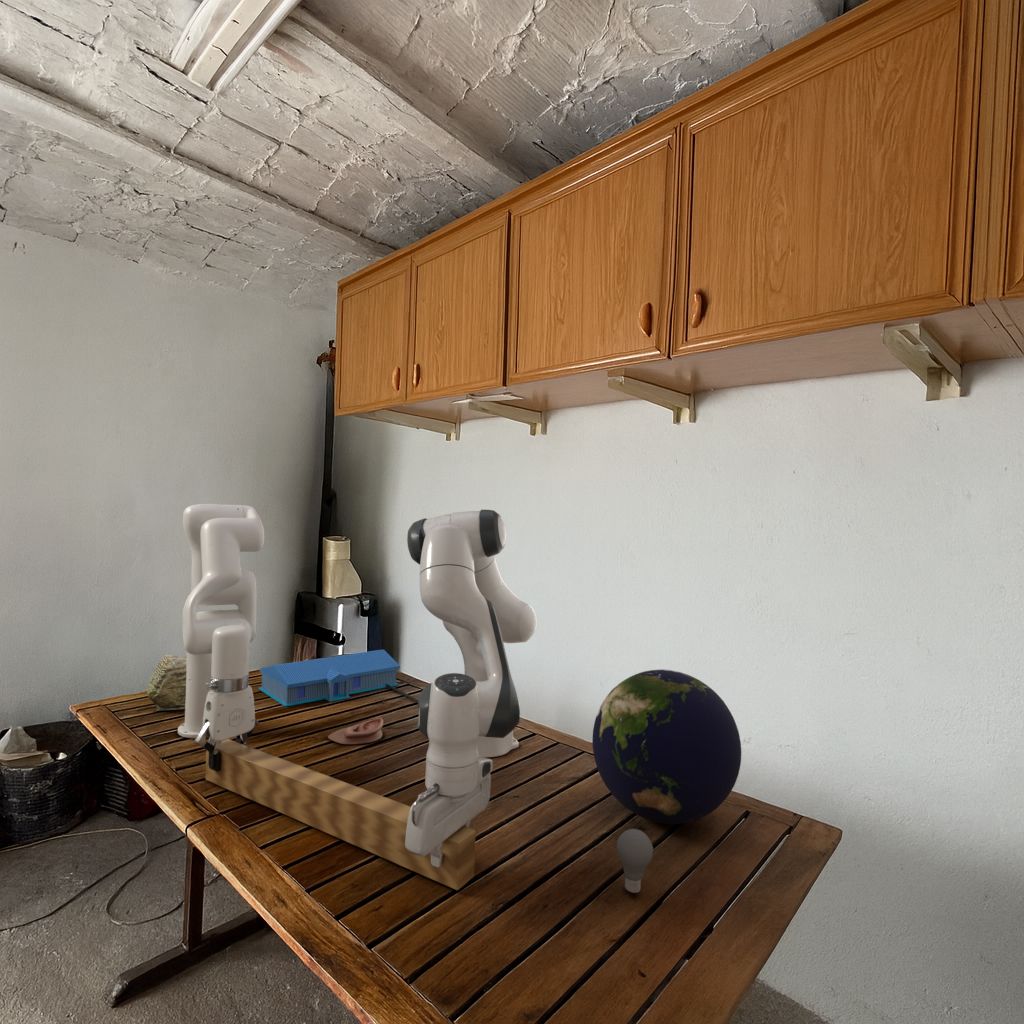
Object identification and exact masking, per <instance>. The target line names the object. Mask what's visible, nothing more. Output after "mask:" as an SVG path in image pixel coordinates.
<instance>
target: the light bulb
mask: <svg viewBox="0 0 1024 1024" xmlns="http://www.w3.org/2000/svg"><path fill="white" fill-rule="evenodd" d="M615 849H616V854H617V857H618V859H619V861H620V863H621V865H622V867H623V873H624V874H623V875H624V876H625V878H624V888H625V890H627V891H628V892H630V893H634V894H635V893H639V892H640V891H641V889H642V887H641V886H642V879H643V877H644V875H645V871H646V868H647V867H648V866H649V864H650V863H651V861H652V859H653V855H654V847H653V843H652V841H651V838H649V836H648V835H647V834H646V833H645V832H643V831H642V830H641V829H636V828H629V829H627V830H625V831H623V832H622V833H621V834H620V835H619V837H618V839H617V841H616V847H615Z"/></svg>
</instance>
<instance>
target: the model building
mask: <svg viewBox="0 0 1024 1024" xmlns="http://www.w3.org/2000/svg"><path fill="white" fill-rule="evenodd" d="M400 669H401V665H400V664H399V663H398V662H397V661H396V660H395V659H394V658H393V657H392V656H391V654H389V653H388V652H387V651H386V650H385V649H376V650H368V651H363V652H356V653H349V654H342V655H341V654H340V655H335V656H329V657H328V656H327V657H321V658H315V659H314V658H313V659H307V660H300V661H293V662H287V663H278V664H272V665H268V666H264V667H263V666H262V667H260V668H259V672H260V673H261V686H260V687H258V690H260V691H261V692H262V693H264V694H265V695H267V696H268V697H270V698H271V699H273V700H274V701H276V702H277V703H279V704H280V705H282V706H283V707H290V706H297V705H302V704H307V703H312V702H317V701H323V700H325V701H327V702H329V703H330V702H335V701H341V700H346V699H347V700H348V699H350V698H351V695H353V694H359V693H364V692H365V693H366V692H369V691H373V690H381V689H385V688H388V687H387V686H386V684H388V685H390V686H392V687H395V686H399V683H398V682H397V670H400Z"/></svg>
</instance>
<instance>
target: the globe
mask: <svg viewBox="0 0 1024 1024" xmlns="http://www.w3.org/2000/svg"><path fill="white" fill-rule="evenodd" d="M592 753H593V758H594V763H595V765H596V768H597V772H598V774H599V775H600V778H601V780H602V782H603V783H604V785H605V787H606V788H607V790H608V791H609V792H610V794H611V795H612V796H613V797H614V799H616V801H618V802H619V803H620V804H621V805H622V806H623V807H625V808H626V809H627V810H629V812H631V813H633V814H635V815H637V816H638V817H641V818H643V819H645V820H648V821H651V822H654V823H659V824H664V825H665V824H666V825H681V824H687V823H691V822H695V821H698V820H700V819H702V818H704V817H706V816H708V815H710V814H711V813H713V812H714V811H715V810H717V808H720V806H721V805H722V804H723V803H724V801H726V799H727V798H728V797H729V795H730V794H731V792H732V791H733V788H734V787H735V785H736V783H737V780H738V777H739V774H740V770H741V765H742V742H741V736H740V732H739V728H738V725H737V723H736V720H735V718H734V716H733V714H732V711H731V710H730V709H729V707H728V706H727V704H726V703H725V701H724V700H723V698H721V696H719V694H718V693H717V692H716V691H715V690H714V689H712V688H711V686H709V685H707V684H706V683H705V682H703V681H701V680H700V679H698V678H696V677H694V676H692V675H690V674H688V673H684V672H682V671H676V670H672V669H665V668H664V669H650V670H645V671H640V672H638V673H636V674H633V675H631V676H629V677H627V678H626V679H624V680H622V681H621V682H619V683H618V684H617V685H616V686H615V687H613V688H612V689H611V690H610V691H609V693H608V694H607V695H606V696H605V698H604V699H603V701H602V702H601V705H600V706H599V708H598V711H597V713H596V716H595V719H594V723H593V728H592Z"/></svg>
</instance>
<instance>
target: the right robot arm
mask: <svg viewBox="0 0 1024 1024" xmlns="http://www.w3.org/2000/svg"><path fill="white" fill-rule="evenodd" d="M506 539H507V529H506V525H505V521H503V519H502V516H501V514H499V513H498V512H497V511H496V510H492V509H480V510H467V511H456V512H452V513H449V514H443V515H437V516H434V517H430V518H427V517H425V518H421V519H419V520H417V521H414V522H413V523H412V524H411V526H410V527H409V528H408V530H407V537H406V545H407V546H406V547H407V550H408V552H409V555H410V558H411V559H412V560H413V561H414V562H415V563H416V564H418V565H419V592H420V593H419V594H420V599H421V602H422V604H423V606H424V607H425V609H426V610H427V611H428V612H429V613H430V614H431V615H433V616H434V617H436V618H437V619H439V620H441V621H442V624H443V627H444V628H445V630H446V631H447V632H448V633H449V634H450V635H451V636H452V637H453V639H454V640H455V642H456V644H457V645H458V648H459V650H460V652H461V656H462V659H463V667H464V669H463V670H464V673H458V672H457V673H456V672H452V673H451V672H450V673H444V674H442V675H439V676H438V677H436V678H435V679H434V681H433V682H429V684H427V685H426V686H425V687H424V688H423V689H422V690H421V691H420V693H418V696H417V698H415V697H414V696H412V695H410V694H409V693H406V692H404V691H402V690H400V689H398V688H396V687H395V686H390V685H388V684H386V686H387V687H386V688H388V689H390V690H392V691H394V692H397V693H399V694H400V695H402V696H404V697H406V698H408V699H410V700H411V701H413V702H415V703H416V704H418V707H419V708H418V718H417V723H416V728H417V729H418V731H420V733H421V734H422V735H423V736H424V737H425V738H427V739H428V747H427V751H426V755H425V756H426V757H425V773H424V774H425V776H424V784H425V788H426V790H425V791H422V792H421V793H419V794H418V795H417V797H416V800H415V801H414V802H413V803H412V805H411V806H410V807H411V808H410V811H409V816H408V822H407V829H406V838H405V847H406V849H407V850H408V851H409V852H411V853H413V854H416V855H419V856H422V857H424V856H426V855H427V854H428V853H430V854H431V864H432V865H433V866H435V867H440V866H441V865H442V864H443V863H444V862H445V860H444V858H445V853H443V852H441V850H440V848H441V847H442V842H443V841H445V840H446V839H447V838H448V837H450V836H451V835H452V834H454V833H455V832H456V831H457V830H459V829H460V828H461V827H462V826H464V827H467V828H469V829H470V826H471V822H472V819H474V818H475V817H476V816H478V815H479V814H480V813H482V812H483V811H484V810H486V808H487V806H488V804H489V801H490V798H491V786H492V775H491V772H492V771H493V767H494V761H493V759H491V758H495V757H499V756H500V757H501V756H504V755H506V754H508V753H509V752H510V751H511V750H514V749H517V748H519V747H520V743H519V741H518V740H517V738H515V736H514V729H516V727H517V726H518V725H519V724H520V718H521V703H520V699H519V696H518V693H517V689H516V686H515V683H514V680H513V677H512V674H511V673H512V672H511V670H510V669H511V668H510V665H509V661H508V656H507V652H506V648H505V644H521V643H527V642H528V641H529V640H530V639H531V638H532V637H533V635H535V632H536V629H537V625H538V621H537V620H538V619H537V614H536V612H535V610H534V608H533V607H532V605H530V604H529V603H527V602H525V601H523V600H522V599H521V598H519V597H518V596H517V595H516V594H515V593H514V592H513V591H512V590H511V589H510V588H509V587H508V585H507V584H506V582H505V580H504V579H503V578H502V576H501V572H500V570H499V566H498V563H497V560H496V556H497V555H499V554H500V553H501V552H502V551H503V550H504V548H505V543H506Z"/></svg>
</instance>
